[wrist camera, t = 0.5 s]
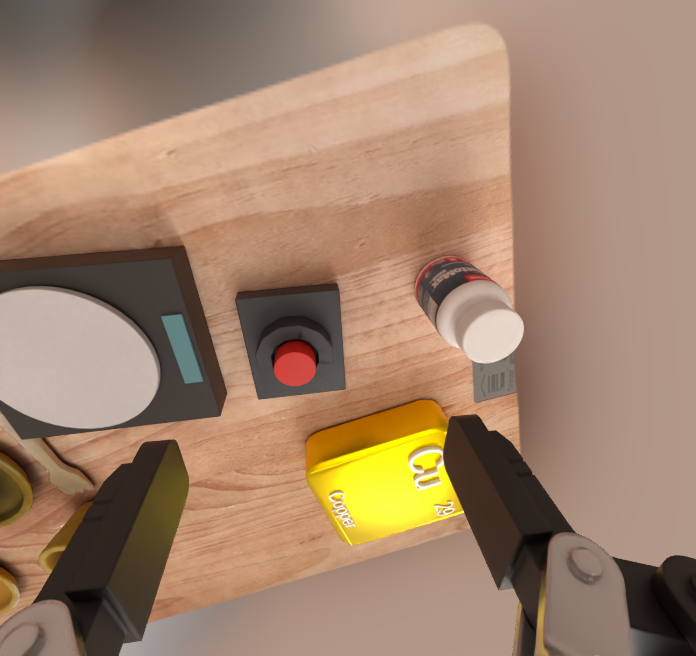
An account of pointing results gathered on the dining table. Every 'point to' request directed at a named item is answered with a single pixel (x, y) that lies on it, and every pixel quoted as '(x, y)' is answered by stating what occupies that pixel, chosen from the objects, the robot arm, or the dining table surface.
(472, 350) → the pill bottle
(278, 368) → the button
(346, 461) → the element tile
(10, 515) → the tableware set
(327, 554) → the dining table surface
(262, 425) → the dining table surface
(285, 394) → the block
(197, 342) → the scale
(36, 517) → the dining table surface
